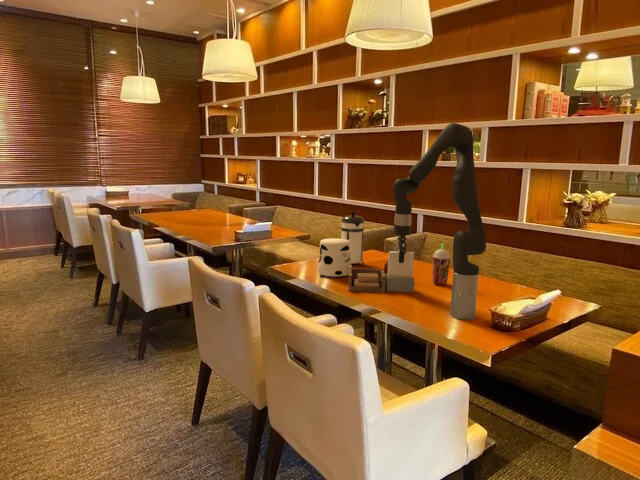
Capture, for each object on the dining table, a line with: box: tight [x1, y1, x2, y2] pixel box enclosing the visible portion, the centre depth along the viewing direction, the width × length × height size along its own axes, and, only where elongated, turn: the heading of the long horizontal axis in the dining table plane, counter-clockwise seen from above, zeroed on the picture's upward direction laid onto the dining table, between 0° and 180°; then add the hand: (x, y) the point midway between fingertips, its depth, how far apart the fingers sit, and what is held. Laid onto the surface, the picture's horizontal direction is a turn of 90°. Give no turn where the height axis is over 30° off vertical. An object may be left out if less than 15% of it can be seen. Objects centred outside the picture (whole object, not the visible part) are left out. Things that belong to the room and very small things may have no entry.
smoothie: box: [432, 242, 452, 287], centre depth 216 cm, size 8×8×20 cm
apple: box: [383, 260, 388, 277], centre depth 222 cm, size 10×10×10 cm
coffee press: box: [340, 211, 365, 266], centre depth 254 cm, size 17×16×30 cm
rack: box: [348, 267, 386, 293], centre depth 206 cm, size 14×16×8 cm
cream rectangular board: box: [387, 250, 415, 278], centre depth 203 cm, size 2×11×16 cm, turn 87°
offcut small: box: [357, 273, 379, 283], centre depth 204 cm, size 5×9×3 cm, turn 91°
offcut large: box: [354, 279, 379, 287], centre depth 204 cm, size 6×11×4 cm, turn 87°
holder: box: [385, 274, 415, 295], centre depth 205 cm, size 8×12×7 cm, turn 87°
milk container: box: [317, 238, 353, 279], centre depth 228 cm, size 17×17×18 cm
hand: (400, 261), depth 203 cm, fingers closed on cream rectangular board, 2 cm apart
